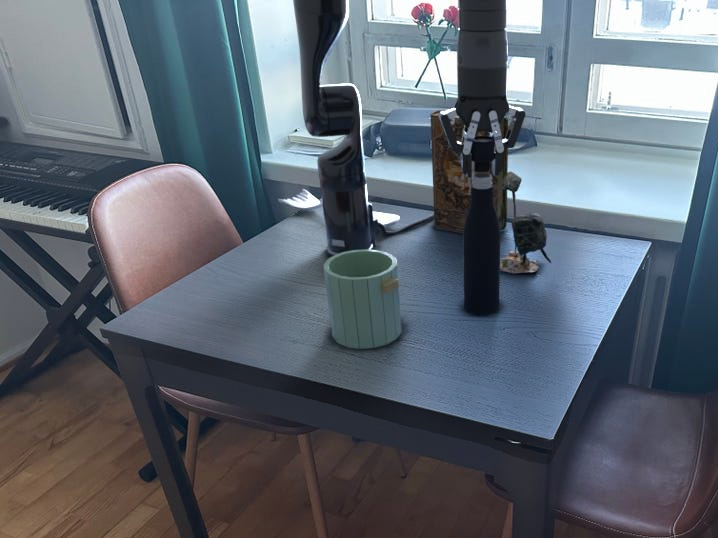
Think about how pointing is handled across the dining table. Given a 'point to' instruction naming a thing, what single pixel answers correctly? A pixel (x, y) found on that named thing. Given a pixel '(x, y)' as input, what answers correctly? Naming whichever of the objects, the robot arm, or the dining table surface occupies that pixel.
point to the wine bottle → (481, 236)
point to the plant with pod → (523, 234)
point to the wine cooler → (363, 298)
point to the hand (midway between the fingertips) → (481, 174)
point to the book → (460, 178)
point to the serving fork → (313, 203)
